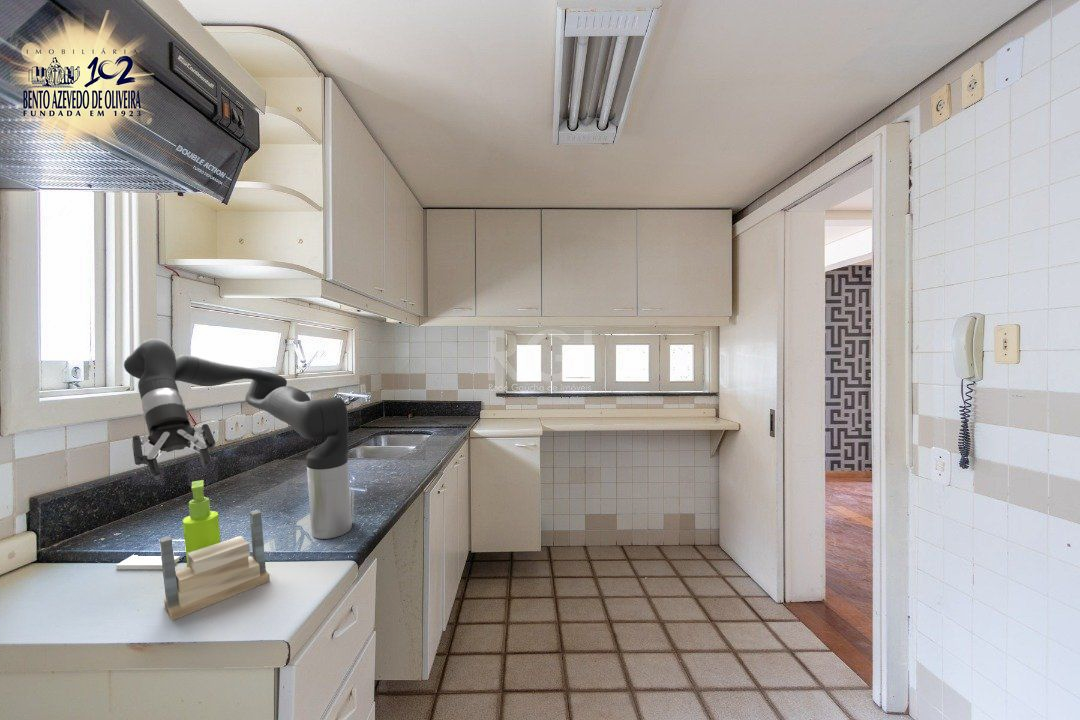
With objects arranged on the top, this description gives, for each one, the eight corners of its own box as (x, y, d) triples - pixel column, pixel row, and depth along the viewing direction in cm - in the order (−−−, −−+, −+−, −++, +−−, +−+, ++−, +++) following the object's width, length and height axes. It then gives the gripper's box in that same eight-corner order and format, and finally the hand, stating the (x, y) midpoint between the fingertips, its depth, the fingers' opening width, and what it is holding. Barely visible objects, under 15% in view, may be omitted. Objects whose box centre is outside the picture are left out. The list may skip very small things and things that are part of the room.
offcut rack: (164, 606, 88) (156, 535, 86) (259, 570, 100) (254, 506, 98) (172, 620, 84) (164, 545, 82) (269, 580, 96) (264, 514, 94)
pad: (159, 543, 112) (158, 539, 112) (204, 543, 111) (204, 539, 111) (116, 569, 101) (116, 564, 101) (166, 569, 100) (166, 565, 100)
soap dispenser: (223, 564, 102) (215, 475, 100) (223, 579, 97) (214, 485, 94) (189, 573, 99) (180, 481, 97) (188, 589, 93) (178, 492, 91)
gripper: (200, 416, 116) (218, 471, 110) (124, 427, 106) (139, 489, 99) (204, 397, 112) (223, 453, 106) (125, 407, 102) (141, 471, 95)
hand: (182, 471), depth 103 cm, fingers open, 8 cm apart
